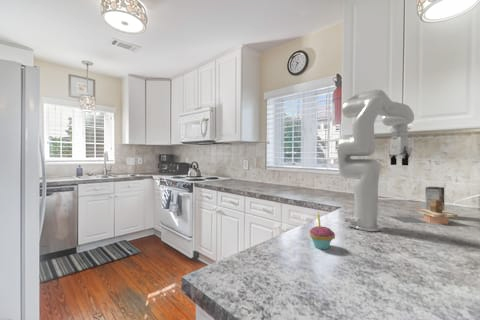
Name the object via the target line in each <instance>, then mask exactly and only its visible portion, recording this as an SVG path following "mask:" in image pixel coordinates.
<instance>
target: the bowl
mask: <svg viewBox="0 0 480 320" xmlns="http://www.w3.org/2000/svg"><path fill="white" fill-rule="evenodd" d="M423 215H424V216H423V221H425V222H428V223H430V224H431V223H432V224H438V225H449V222H450V217H433V216H430V215H427V214H423Z"/></svg>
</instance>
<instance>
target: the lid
mask: <svg viewBox="0 0 480 320" xmlns="http://www.w3.org/2000/svg"><path fill="white" fill-rule="evenodd" d="M416 212H417V213H421V214H423V215H424V214H427V215H430V216H433V217H449V218H458V217H459V215H458V214H456V213H453V212H449V211H446V210H444V211H442V200H437V199H431V202H430V209H426V208H422V209H421V208H420V209H419V208H417V209H416Z"/></svg>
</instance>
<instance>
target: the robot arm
mask: <svg viewBox="0 0 480 320" xmlns="http://www.w3.org/2000/svg"><path fill="white" fill-rule="evenodd" d="M341 112H342V114H343V116H344V117H345V118H349V119H352V118H355V119H354V121H353V124H352V136H351V135H350V136H349V135H348V136H343V137H341V138H339V140H338V141H337V145H336V147H337V148H336V151H337V152H336V153H337V162H338V165H337V166H338V170H339V171H338V172H339V174H340V176H341V177H343V178H345V179H356V180H358V182H357V183H356V184H355V186H354V191H353V199H354V201H353V202H354V203H353V215H351V217H349V218H348V217H344V218H343V222H344V223H348V224H350V227H352V228H353V229H356V230H360V231H365V232H380V231H382V225H380V224H379V223H378V222H379V220H378V219H379V218H378V215H379V213H378V211H379V209H378V207H379V181H380V180H379V179H380V175H381V170H382V167H381V166H382V165H381V163H380V162H379V161H378V160H376V159H374V158H352V157H367V156H372V155H373V154H374V153H375V151H376V139H375V137H376V135H375V123H376V122H375V121H376V119H377V117H378V116H380V117H382V118H381V121H382V124H383V125H385V126H387V127H391V139H390V143H389V150H388V154H389V159H390V165H391V166H396V165H397V163H398V162H397V161H398V160H397V159H398V158H397V156H401V157H402V158H401V165H402V166H409V158H410V156H411V153H412V149H410V148H409V138H408V137H409V136H408V135H409V134H408V133H409V132H408V130H409V129H408V128H409V127H408V125H409V124H412V123H413V121H414V119H415V113H414V112H413V110H412V108H411V107H410V106H409V105H408V104H406V103H403V102H402V103H401V102H398V101H393V100H391V98H390V97H389V96H388V95H387V94H386V92H385V91H383V89H378V88H377V89H371V90H367V91H362V92H359V93H356V94H354V95H353V96H351V97H349V98H348V99H346V100H345V101H344V103H343V104H342V107H341Z"/></svg>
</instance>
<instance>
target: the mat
mask: <svg viewBox="0 0 480 320" xmlns="http://www.w3.org/2000/svg"><path fill="white" fill-rule="evenodd" d="M388 217H389V218H391V219H394V220H396V221H399V222H402V223H404V224H405V223H407V224H409V223H411V224H413V223H414V224H418V223H419V224H428V223H429V222H428V221H425V220H422V219H419V218H416V217H413V216H405V215H404V216H402V215H401V216H397V215H396V216H395V215H392V216H390V215H389V216H388Z"/></svg>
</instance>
